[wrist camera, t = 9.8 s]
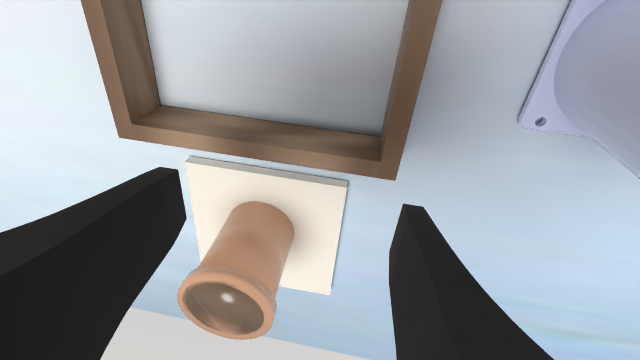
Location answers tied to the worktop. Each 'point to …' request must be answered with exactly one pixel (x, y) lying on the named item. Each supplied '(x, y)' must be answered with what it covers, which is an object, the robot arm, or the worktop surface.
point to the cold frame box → (246, 133)
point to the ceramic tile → (285, 194)
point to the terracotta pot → (240, 273)
